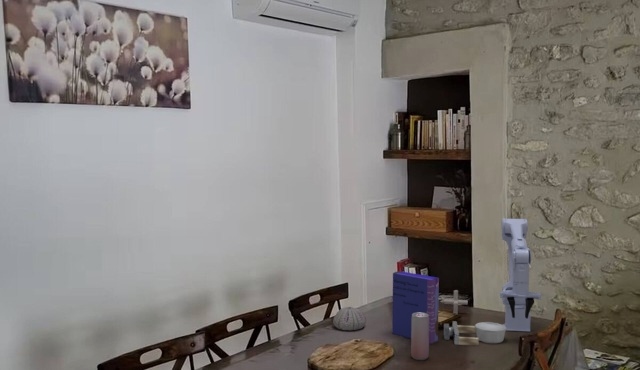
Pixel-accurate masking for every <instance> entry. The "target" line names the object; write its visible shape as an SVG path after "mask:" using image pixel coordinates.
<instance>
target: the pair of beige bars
mask: <svg viewBox="0 0 640 370" xmlns="http://www.w3.org/2000/svg"><path fill="white" fill-rule="evenodd" d="M457 326H458V331H459V334H473V335H474V334H476V329H475V325H461V324H459V325H458V324H457ZM479 341H480V340H479V338H477V337H474V336H473V337H471V336H469V337H467V336H459V345H458V346H474V347H476V346H477V347H478V346H479V345H480V343H479ZM479 347H480V346H479Z"/></svg>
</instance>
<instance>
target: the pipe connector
mask: <svg viewBox="0 0 640 370" xmlns="http://www.w3.org/2000/svg"><path fill="white" fill-rule="evenodd" d="M443 304H447V305H449V304H450V305H453V312H452V313H456V314H455V315H458V313H459V312H458V311H459V305H467V306H468V300H467V299H466V300H465V299H459V290H458V289H455V290H453V299H443Z"/></svg>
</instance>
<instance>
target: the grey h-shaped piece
mask: <svg viewBox="0 0 640 370" xmlns="http://www.w3.org/2000/svg"><path fill="white" fill-rule="evenodd" d="M457 325H458V321H456V320H455V321H452V326H450V323H443V340H444V341H449V340H450V337H451V338H453V342H454V345H457V346H460V345H459V337H460V333H459V331H458V326H457Z"/></svg>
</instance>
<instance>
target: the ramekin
mask: <svg viewBox="0 0 640 370" xmlns="http://www.w3.org/2000/svg"><path fill="white" fill-rule="evenodd" d="M474 326H475V334H476V338H479V341H480V342H483V343H486V344H500V343H502V342H504V339H505V334H506V332H507V330H506V327H505V326H504V325H503V324H501V323H498V322H491V321H485V322H477V323H476V324H475V325H474Z"/></svg>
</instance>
